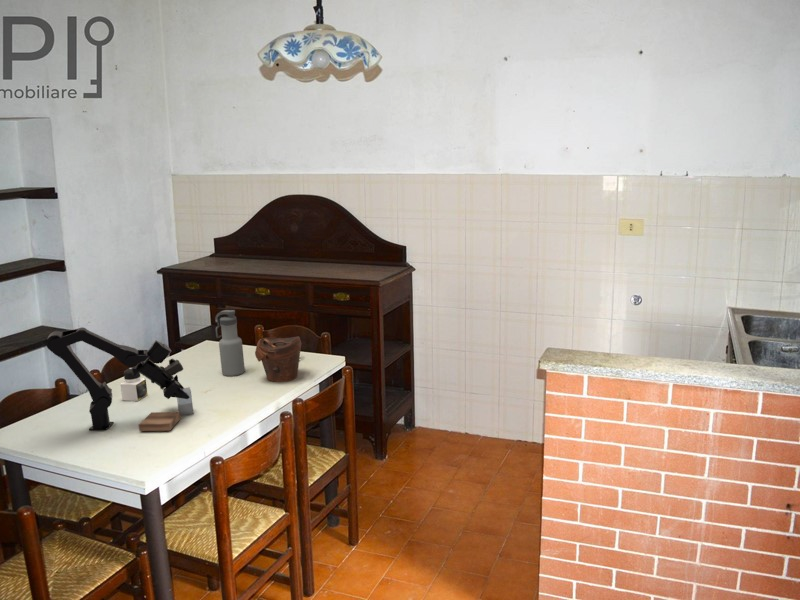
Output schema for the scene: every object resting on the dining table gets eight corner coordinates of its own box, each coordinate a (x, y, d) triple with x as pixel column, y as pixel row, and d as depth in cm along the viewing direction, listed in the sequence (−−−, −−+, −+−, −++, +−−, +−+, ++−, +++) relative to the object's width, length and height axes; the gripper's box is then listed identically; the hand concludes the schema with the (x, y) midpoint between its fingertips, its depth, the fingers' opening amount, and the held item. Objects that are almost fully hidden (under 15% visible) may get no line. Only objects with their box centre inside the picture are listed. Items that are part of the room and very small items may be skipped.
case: (252, 375, 305) (249, 335, 301) (296, 367, 314) (293, 328, 310) (264, 388, 290) (261, 346, 286) (310, 379, 299) (308, 338, 294)
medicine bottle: (138, 401, 281) (134, 372, 278) (122, 400, 282) (118, 372, 280) (148, 394, 288) (144, 366, 285) (132, 394, 289) (128, 366, 286)
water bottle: (216, 375, 307) (210, 313, 301) (228, 368, 316) (222, 307, 310) (237, 377, 304) (231, 314, 298) (249, 370, 313) (243, 308, 307)
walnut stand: (170, 431, 250) (169, 424, 249) (139, 432, 250) (138, 424, 250) (181, 419, 260) (180, 411, 260) (152, 420, 261) (151, 412, 260)
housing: (193, 414, 265) (191, 391, 263) (179, 416, 264) (177, 393, 262) (192, 409, 270) (189, 387, 268) (178, 411, 268) (175, 389, 266)
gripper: (169, 362, 252) (205, 386, 258) (166, 348, 269) (199, 371, 275) (149, 387, 251) (185, 410, 257) (146, 371, 268) (180, 394, 274)
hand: (188, 395), depth 266 cm, fingers open, 5 cm apart
